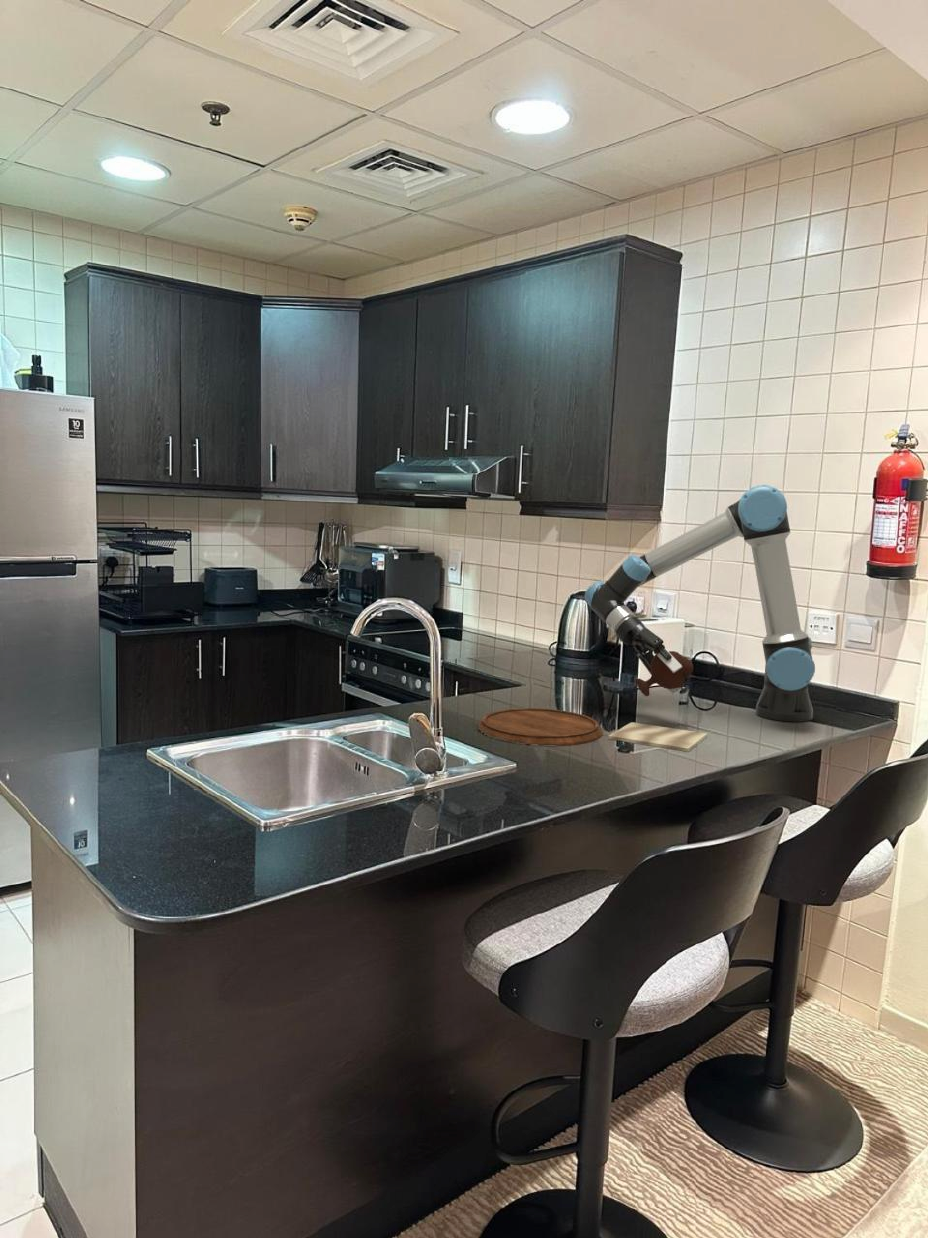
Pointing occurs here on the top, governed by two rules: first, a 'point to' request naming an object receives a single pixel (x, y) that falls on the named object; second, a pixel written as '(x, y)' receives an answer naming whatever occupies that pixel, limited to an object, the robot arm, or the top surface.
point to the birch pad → (658, 736)
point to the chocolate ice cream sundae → (666, 674)
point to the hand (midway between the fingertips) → (677, 681)
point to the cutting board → (541, 726)
